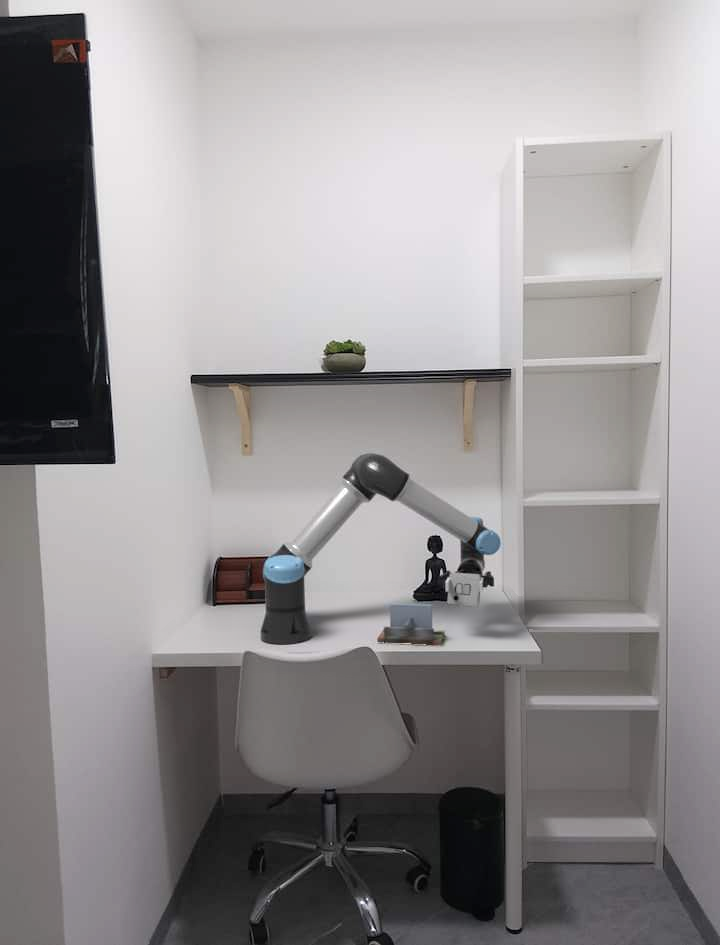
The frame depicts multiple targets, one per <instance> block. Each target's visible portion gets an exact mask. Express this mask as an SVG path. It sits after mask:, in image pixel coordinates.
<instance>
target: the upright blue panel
mask: <svg viewBox="0 0 720 945" xmlns="http://www.w3.org/2000/svg"><path fill="white" fill-rule="evenodd" d="M389 616H390V617H389V618H390V619H389V621H390V622H389V624H390V626H389V627H405V628H408V627H410V628H433V604H432V603H431V604H424V603H423V604H422V603H397V602H396V603H395V602H394V603H393V602H391V603H390V604H389ZM434 634H443V632H435V631H434Z"/></svg>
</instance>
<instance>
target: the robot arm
mask: <svg viewBox="0 0 720 945" xmlns="http://www.w3.org/2000/svg"><path fill="white" fill-rule="evenodd" d="M376 495H378V496H379V495H380V496H382V497H384V498H386V499H388V500H389V501H391V502H399V503H400V504H402V505H404V507H407V508H408V509H410V510H411V511H413V512H415V513H416V514H418V515H419V516H421V517H423V518H424V519H426V520H428V521H429V522H431V523H432V524H434V525H436V526H437V527H439V528H440V529H442V530H444V531H445V532H446V533H448V534H450V535H451V536H453V537H455V538H456V539H458V540H459V543H460V545H459V546H460V564H459V565H458V568H457V569H456V571H455V572H454V573H468V574H479V575H480V576H481V580H480V582H479V592H480V593H483V590H484V588H488V586H489V587H495V577H494V575H492V571H485V572H484V570H485V568H486V562H485V556H491V555H492V556H493V555H495V554H496V553H497V552H498V551H499V549H500V548H501V545H502V544H501V542H502V541H501V538H500V536H499V535H498V533H497V532H495V531H494V530H493V529H489V528H488V527H486V526H485V525H484V520H483V518H481V517H477V516H476V517H475V516H474V517H473V516H471V517H470V516H468V515H467V514H466V513H464V512H462V511H460V510H459V509H458V508H456V507H454V506H453V505H452V504H450V503H448V502H447V501H445V500H444V499H442V498H441V497H439V496H437V495H436V494H434V493H432V492H431V491H430V490H428V489H426V488H425V487H423V486H422V485H420V484H418V482H415V481H414V480H413V479H411V475H410V474H409V473H407V472H405V470H403V469H402V468H400V467H399V466H398V465H396V464H395V462H393V461H392V460H391V459H390V458H388V457H387V456H384V455H382V454H377V453H373V452H367V453H363V454H360V455H358V456H357V457H356V458H355V459H354V460H353V462H352V464H351V465H350V468H349V469H348V470H347V471H346V472H345V474H344V475H343V476H342V477H341V485H340V486H339V487H338V489H337V490H336V491H335V492H334V493H333V494H332V495H331V497H330V498H329V499H328V500H327V501H326V503H325V504H324V505H323V506H322V507H321V508H320V509H319V510H318V512H316V514H315V515H314V516H313V517H312V519H311V520H310V521H309V522H308V523H307V524H306V525H305V527H304V528H303V529H302V530H301V531H300V532H299V533H298V534H297V535H296V537H294V539H292V541H290V542H289V541H288V542H284V543H282V545H281V546H280V548H278V550H277V551H276V552H274V553H273V554H272V555H270V556H268V557H267V559H266V560H265V562H264V564H263V568H262V577H263V580H264V596H265V599H264V603H265V614H264V617H263V621H262V625H261V628H260V631H259V632H260V640H261V639H262V640H263V641H262V640H261V641H262V642H264V641H265V642H264V643H268V644H273V645H274V644H275V645H291V644H297V643H302V642H305V641H307V640H309V639H311V638H312V637H313V632H312V630H313V629H312V626H311V623H310V621H309V620H310V619H309V617H308V614H307V611H306V594H305V591H306V589H305V576H307V574H308V573H309V572H310V571H311V569H312V568H313V560H314V558H315V557H316V556H317V555H318V554H319V553H320V552H321V551H322V549H323V548H324V547H325V546H326V545H327V544H328V543H329V541H330V540H331V539H332V538H333V537H334V536H335V534H336V533H337V532H338V531H339V530H340V529H341V528H342V526H343V525H344V524H345V523H346V522H347V521H348V520H349V519H350V517H351V516H352V515H353V514H354V512H356V510H357V509H359V507H360V506H361V505H362V504H364V503H369V502H371V500H372V499H373V498H375V496H376ZM451 572H452V571H450V570H446V571H445V572H444V573H442V574H441V575H439V576H438V580H437V581H438V586H440V587H441V586H442V587H443V588H444V589H445V593H446V592H447V593H448V591H449V589H450V579H449V575H450V573H451ZM483 572H484V573H483Z"/></svg>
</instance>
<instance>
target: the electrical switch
mask: <svg viewBox="0 0 720 945" xmlns="http://www.w3.org/2000/svg"><path fill="white" fill-rule="evenodd" d="M450 572H451V573H450V575H449V579H450V589H449V591H448V592H447V601H446V602H447V604H448V605H450V606H461V607H473V608H478V607H479V605H480V598H481V592H479V582H480V580H481V576H480V575H479V574H468V573H455V572H452V571H450Z"/></svg>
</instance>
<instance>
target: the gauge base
mask: <svg viewBox="0 0 720 945" xmlns="http://www.w3.org/2000/svg"><path fill="white" fill-rule="evenodd" d="M434 631H435V632H443V634H434ZM445 633H446V632H445V630H442V629H440V630H437V629H434V627H432V628H410V627H408V628H405V627H390V626H384V627H383V629H382V631H381V632H380V634H379V636H377V638H376V639H377V642H384V643H386V642H387V643H411V644H426V645H425V646H428V645H441V646H442V644H441V643H443V641H444V639H443V638H445V636H446V634H445Z"/></svg>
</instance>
